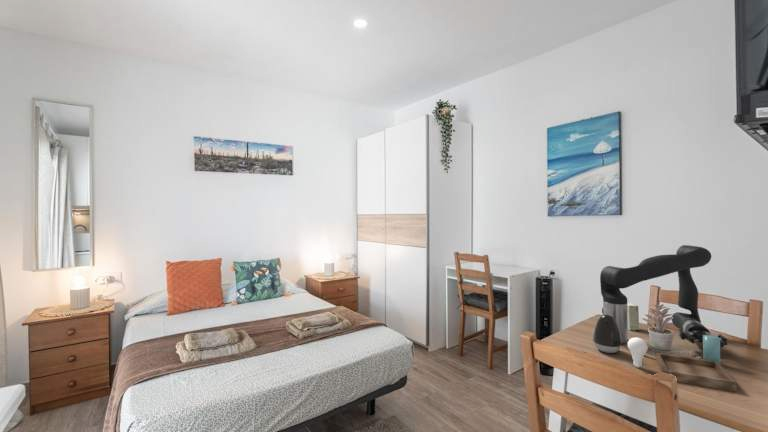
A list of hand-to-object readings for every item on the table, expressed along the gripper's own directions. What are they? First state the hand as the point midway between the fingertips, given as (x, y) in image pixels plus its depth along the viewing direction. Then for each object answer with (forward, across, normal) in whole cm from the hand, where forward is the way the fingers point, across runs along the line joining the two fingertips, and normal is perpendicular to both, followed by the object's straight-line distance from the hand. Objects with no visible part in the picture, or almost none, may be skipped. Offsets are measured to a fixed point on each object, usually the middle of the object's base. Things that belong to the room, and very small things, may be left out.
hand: (707, 342), depth 138 cm
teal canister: (+5, 0, +6) cm, 8 cm away
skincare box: (-29, -22, +6) cm, 37 cm away
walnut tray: (+21, -9, +6) cm, 24 cm away
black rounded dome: (+10, -34, +6) cm, 36 cm away
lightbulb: (+23, -25, +6) cm, 35 cm away
